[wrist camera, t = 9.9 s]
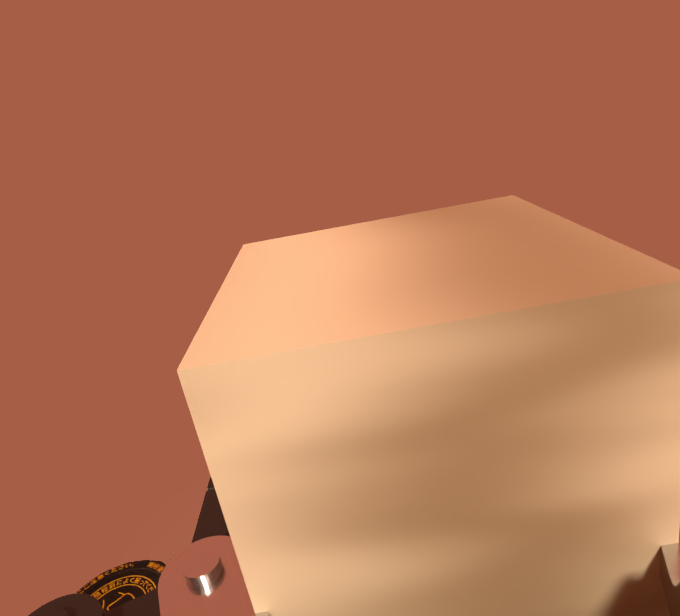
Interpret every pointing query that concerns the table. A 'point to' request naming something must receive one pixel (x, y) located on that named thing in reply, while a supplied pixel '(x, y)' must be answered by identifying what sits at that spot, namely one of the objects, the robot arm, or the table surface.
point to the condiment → (124, 583)
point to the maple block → (444, 417)
